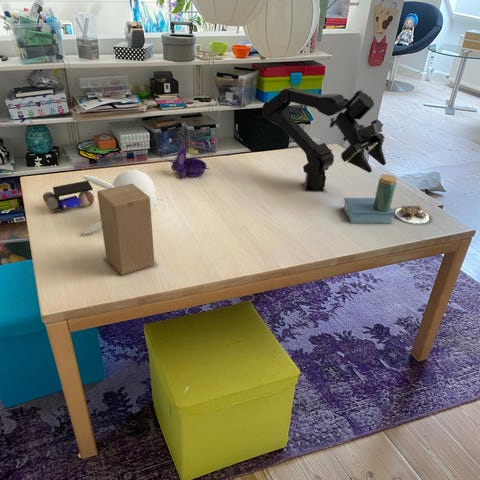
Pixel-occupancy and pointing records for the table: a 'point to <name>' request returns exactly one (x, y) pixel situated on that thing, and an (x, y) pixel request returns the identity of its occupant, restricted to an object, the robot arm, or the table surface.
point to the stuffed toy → (124, 179)
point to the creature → (187, 164)
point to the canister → (384, 193)
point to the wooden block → (127, 228)
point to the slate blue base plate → (365, 211)
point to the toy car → (83, 198)
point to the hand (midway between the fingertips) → (377, 168)
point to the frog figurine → (412, 214)
